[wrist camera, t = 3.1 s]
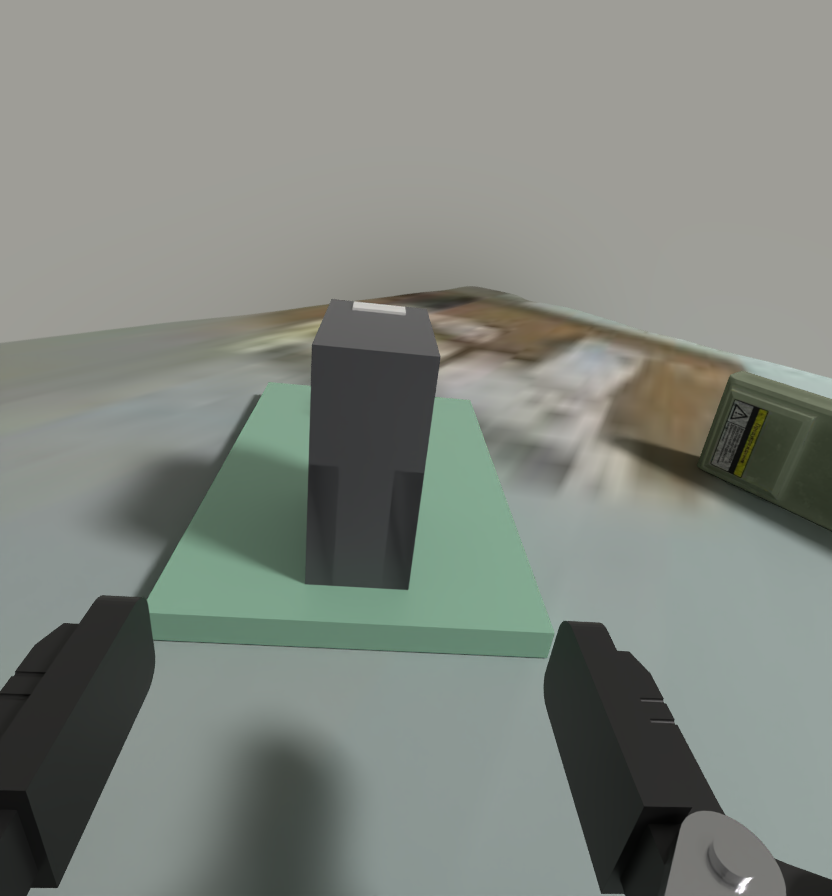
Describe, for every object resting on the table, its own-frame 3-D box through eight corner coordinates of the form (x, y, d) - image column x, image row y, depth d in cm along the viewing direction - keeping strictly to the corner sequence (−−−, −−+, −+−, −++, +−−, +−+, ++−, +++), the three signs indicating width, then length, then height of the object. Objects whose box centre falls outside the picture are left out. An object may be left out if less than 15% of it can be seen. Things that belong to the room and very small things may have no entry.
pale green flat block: (547, 657, 20) (581, 542, 18) (143, 639, 18) (125, 512, 16) (467, 415, 39) (479, 346, 37) (269, 398, 38) (268, 325, 36)
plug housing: (408, 590, 20) (440, 353, 16) (305, 584, 20) (312, 341, 16) (403, 498, 26) (427, 306, 22) (323, 492, 26) (331, 296, 22)
